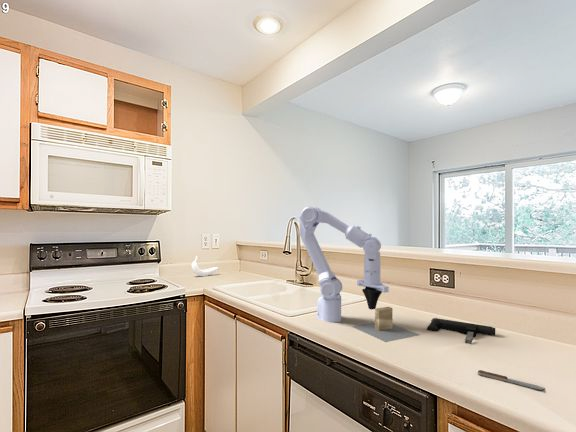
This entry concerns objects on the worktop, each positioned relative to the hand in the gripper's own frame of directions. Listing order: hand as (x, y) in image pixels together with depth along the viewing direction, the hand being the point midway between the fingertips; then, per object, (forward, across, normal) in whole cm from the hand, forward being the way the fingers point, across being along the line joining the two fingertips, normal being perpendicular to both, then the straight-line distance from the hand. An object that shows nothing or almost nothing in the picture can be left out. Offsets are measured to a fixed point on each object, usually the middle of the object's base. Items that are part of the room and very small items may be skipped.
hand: (372, 308), depth 122 cm
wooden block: (+5, -6, 0) cm, 8 cm away
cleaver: (+7, -47, -2) cm, 47 cm away
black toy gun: (+7, -20, -21) cm, 29 cm away
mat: (+6, -8, +1) cm, 10 cm away
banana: (+6, +135, +29) cm, 138 cm away
